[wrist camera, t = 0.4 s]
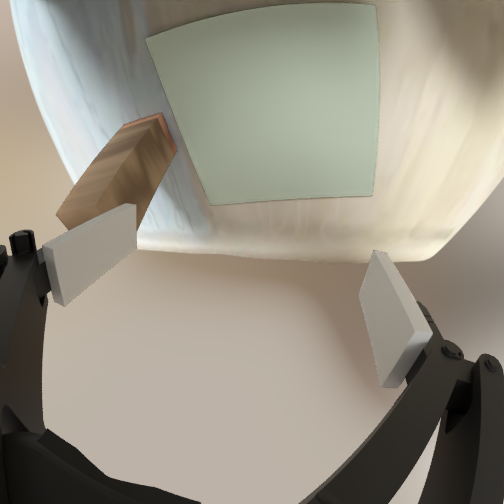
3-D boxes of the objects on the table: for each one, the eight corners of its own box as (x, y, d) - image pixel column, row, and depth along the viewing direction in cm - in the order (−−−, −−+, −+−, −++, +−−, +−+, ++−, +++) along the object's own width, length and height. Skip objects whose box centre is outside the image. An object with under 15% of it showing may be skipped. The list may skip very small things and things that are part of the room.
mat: (147, 37, 18) (144, 38, 18) (373, 4, 14) (375, 5, 13) (211, 202, 35) (210, 205, 35) (371, 192, 31) (372, 195, 30)
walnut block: (124, 124, 26) (55, 214, 18) (161, 112, 25) (95, 205, 17) (141, 158, 30) (88, 252, 21) (177, 150, 29) (129, 249, 20)
